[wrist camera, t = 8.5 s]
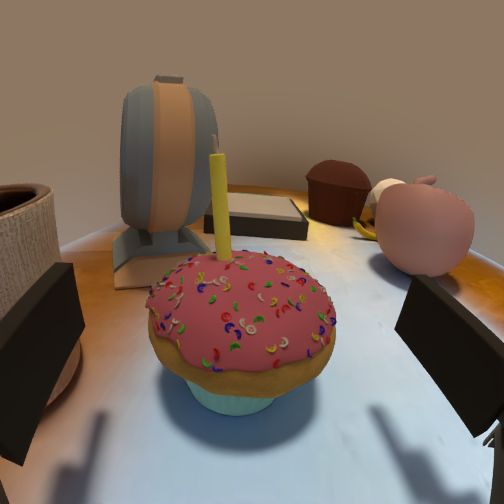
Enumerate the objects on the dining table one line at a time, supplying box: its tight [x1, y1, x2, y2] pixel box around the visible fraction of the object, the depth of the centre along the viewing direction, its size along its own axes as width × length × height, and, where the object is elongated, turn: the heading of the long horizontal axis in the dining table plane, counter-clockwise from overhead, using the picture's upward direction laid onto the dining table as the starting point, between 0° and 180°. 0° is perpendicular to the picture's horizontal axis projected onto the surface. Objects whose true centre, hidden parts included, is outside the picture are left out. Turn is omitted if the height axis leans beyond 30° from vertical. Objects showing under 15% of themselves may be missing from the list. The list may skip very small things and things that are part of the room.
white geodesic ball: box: [369, 178, 405, 218], centre depth 47 cm, size 9×9×12 cm
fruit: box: [353, 217, 377, 240], centre depth 40 cm, size 7×1×3 cm, turn 91°
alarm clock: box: [113, 74, 219, 290], centre depth 26 cm, size 14×10×18 cm
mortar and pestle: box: [375, 175, 474, 278], centre depth 29 cm, size 12×12×11 cm
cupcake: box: [145, 134, 336, 416], centre depth 13 cm, size 9×8×12 cm
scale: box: [204, 193, 309, 240], centre depth 43 cm, size 13×14×3 cm
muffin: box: [306, 160, 372, 227], centre depth 48 cm, size 12×11×10 cm
